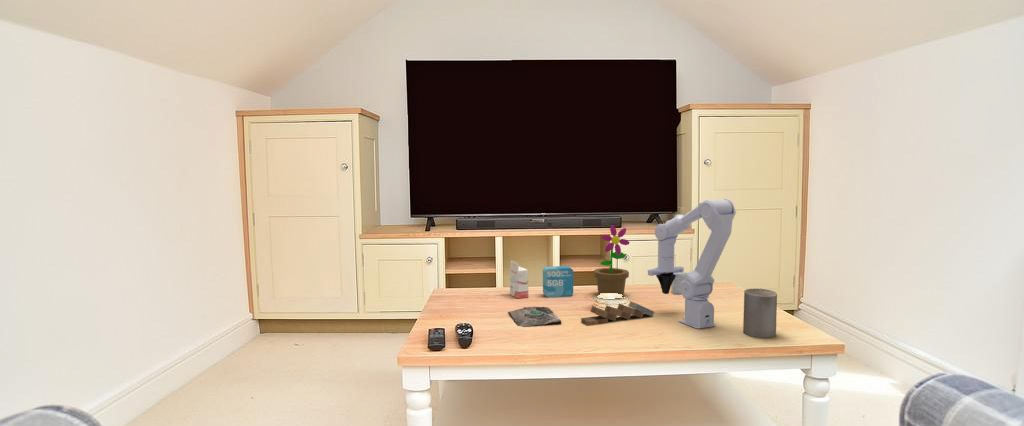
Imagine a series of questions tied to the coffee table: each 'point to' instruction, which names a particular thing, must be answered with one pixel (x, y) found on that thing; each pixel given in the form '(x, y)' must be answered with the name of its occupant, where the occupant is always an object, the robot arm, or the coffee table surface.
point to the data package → (558, 281)
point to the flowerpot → (611, 277)
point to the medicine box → (678, 282)
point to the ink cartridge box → (518, 281)
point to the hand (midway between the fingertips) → (665, 293)
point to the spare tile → (641, 308)
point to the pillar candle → (760, 313)
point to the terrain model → (534, 317)
